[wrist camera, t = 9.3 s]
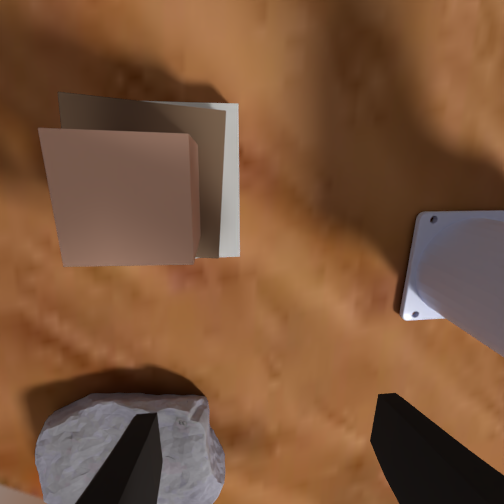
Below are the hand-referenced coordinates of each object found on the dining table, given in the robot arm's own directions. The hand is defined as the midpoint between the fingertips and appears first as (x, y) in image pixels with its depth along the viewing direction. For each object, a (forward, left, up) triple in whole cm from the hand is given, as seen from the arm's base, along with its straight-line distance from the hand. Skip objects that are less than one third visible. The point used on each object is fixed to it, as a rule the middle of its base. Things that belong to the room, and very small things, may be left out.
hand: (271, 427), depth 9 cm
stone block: (+8, +12, -11) cm, 18 cm away
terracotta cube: (+4, -7, -6) cm, 10 cm away
